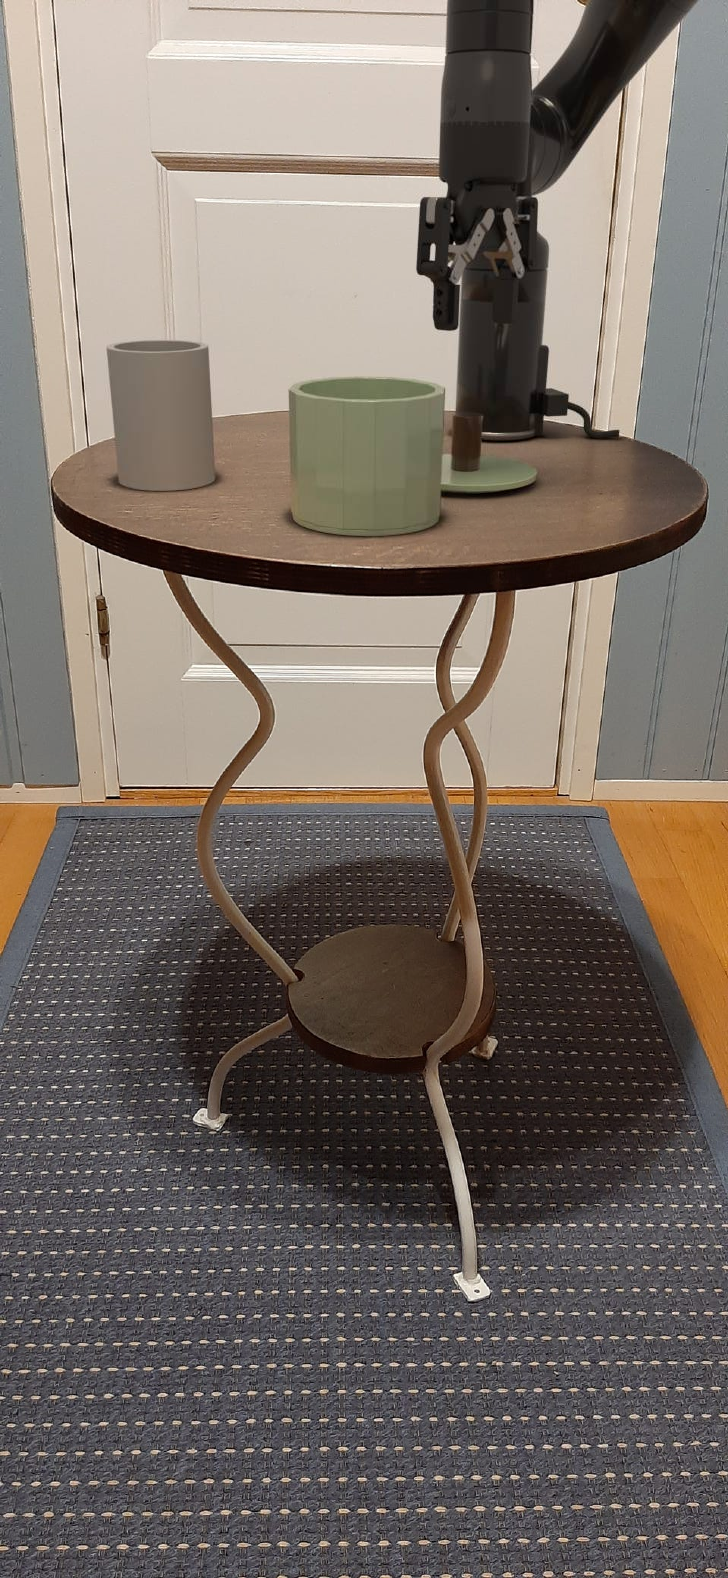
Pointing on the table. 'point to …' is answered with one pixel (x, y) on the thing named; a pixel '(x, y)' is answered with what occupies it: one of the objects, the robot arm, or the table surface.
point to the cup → (162, 414)
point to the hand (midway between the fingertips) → (475, 326)
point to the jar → (366, 454)
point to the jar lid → (479, 462)
